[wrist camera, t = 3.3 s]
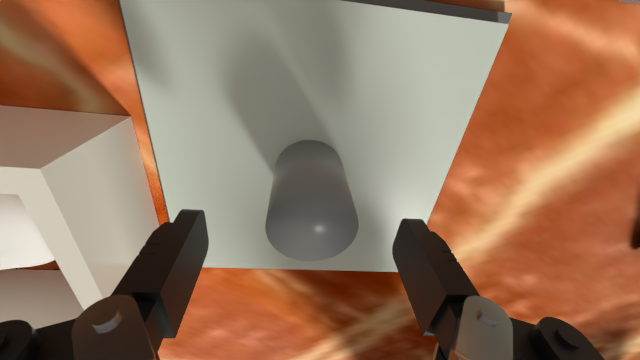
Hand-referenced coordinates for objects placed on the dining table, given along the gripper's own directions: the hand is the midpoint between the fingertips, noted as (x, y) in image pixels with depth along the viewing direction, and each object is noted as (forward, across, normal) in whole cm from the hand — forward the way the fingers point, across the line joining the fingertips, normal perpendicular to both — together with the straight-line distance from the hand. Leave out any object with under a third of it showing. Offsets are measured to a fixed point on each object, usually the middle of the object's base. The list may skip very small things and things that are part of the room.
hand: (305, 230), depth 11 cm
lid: (+6, 0, 0) cm, 6 cm away
